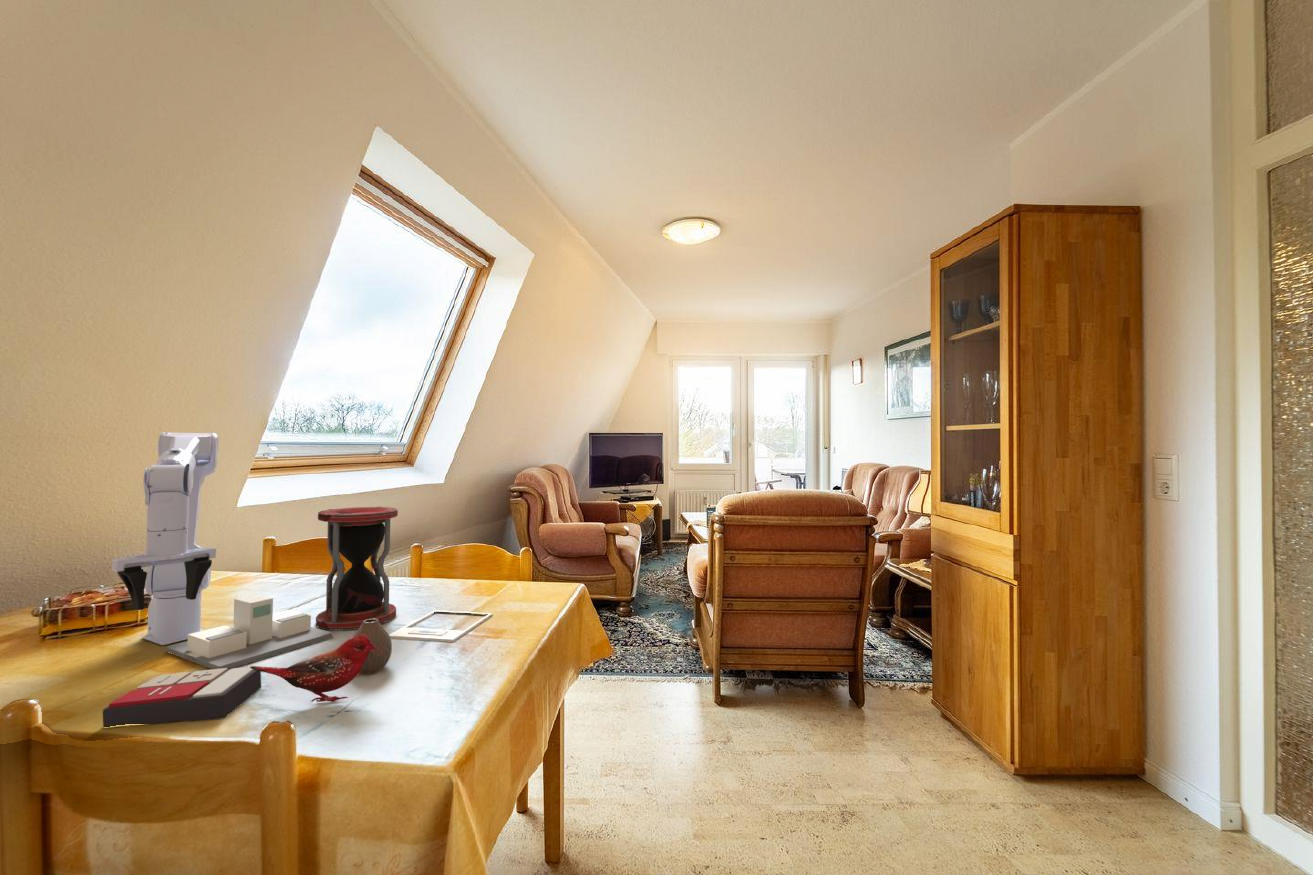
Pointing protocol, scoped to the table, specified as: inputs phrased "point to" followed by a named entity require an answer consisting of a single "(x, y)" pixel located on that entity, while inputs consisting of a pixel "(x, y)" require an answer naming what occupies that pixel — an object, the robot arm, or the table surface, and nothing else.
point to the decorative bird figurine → (326, 668)
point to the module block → (254, 617)
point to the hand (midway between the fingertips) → (165, 603)
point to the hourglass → (357, 567)
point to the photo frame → (433, 630)
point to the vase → (381, 641)
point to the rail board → (231, 648)
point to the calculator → (184, 697)
